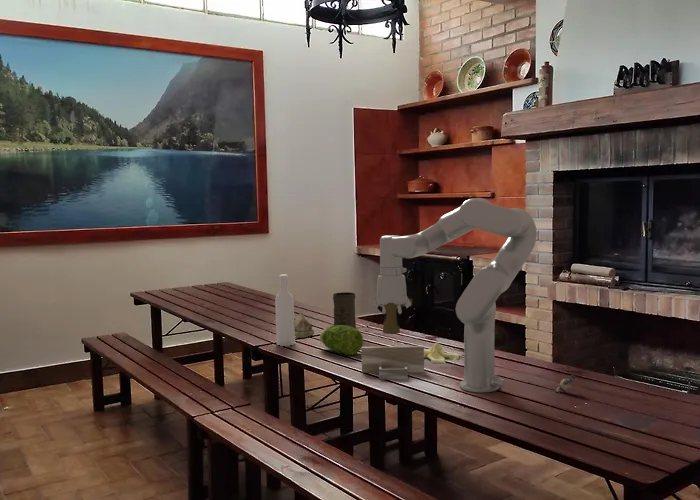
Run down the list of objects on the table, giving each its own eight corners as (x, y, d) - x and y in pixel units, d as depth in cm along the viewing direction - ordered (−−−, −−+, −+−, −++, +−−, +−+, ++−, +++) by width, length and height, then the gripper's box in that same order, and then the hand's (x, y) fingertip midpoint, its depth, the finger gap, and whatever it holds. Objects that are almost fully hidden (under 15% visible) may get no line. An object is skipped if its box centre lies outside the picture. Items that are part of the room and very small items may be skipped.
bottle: (298, 343, 277) (296, 274, 274) (287, 347, 270) (285, 276, 268) (284, 341, 281) (281, 273, 279) (272, 345, 275) (270, 275, 272)
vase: (579, 392, 201) (579, 374, 200) (571, 398, 197) (571, 379, 196) (563, 388, 205) (562, 370, 204) (555, 394, 201) (554, 375, 200)
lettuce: (333, 345, 271) (332, 319, 270) (367, 353, 256) (367, 325, 255) (312, 350, 264) (311, 323, 263) (346, 359, 249) (345, 330, 248)
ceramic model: (288, 332, 301) (288, 311, 300) (312, 330, 303) (312, 309, 303) (292, 338, 287) (291, 316, 287) (317, 337, 290) (316, 315, 289)
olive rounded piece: (399, 334, 218) (398, 302, 217) (381, 333, 219) (380, 301, 218) (400, 330, 224) (400, 299, 223) (383, 330, 225) (383, 298, 224)
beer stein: (357, 339, 281) (356, 293, 281) (332, 340, 282) (331, 294, 281) (357, 334, 297) (356, 291, 297) (334, 334, 297) (333, 291, 297)
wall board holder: (362, 371, 230) (361, 346, 230) (424, 371, 229) (423, 346, 228) (361, 379, 220) (360, 353, 220) (425, 379, 219) (425, 353, 218)
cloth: (433, 350, 262) (433, 335, 262) (470, 357, 249) (470, 341, 248) (395, 360, 247) (395, 344, 247) (433, 369, 234) (433, 352, 233)
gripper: (415, 270, 223) (415, 322, 224) (367, 270, 224) (368, 322, 225) (416, 272, 215) (416, 326, 217) (366, 273, 216) (367, 327, 218)
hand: (392, 324), depth 221 cm, fingers closed on olive rounded piece, 3 cm apart
